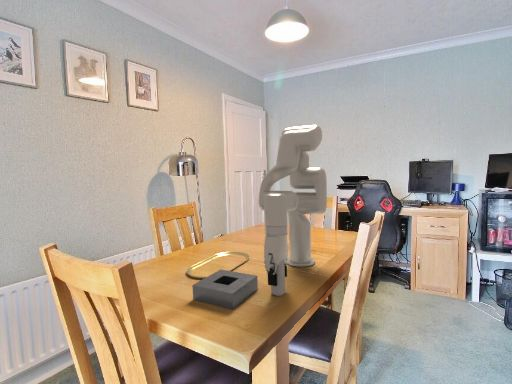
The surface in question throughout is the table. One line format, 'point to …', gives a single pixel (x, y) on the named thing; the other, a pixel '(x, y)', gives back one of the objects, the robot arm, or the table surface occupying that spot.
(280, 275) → the beverage can
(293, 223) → the robot arm
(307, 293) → the table surface
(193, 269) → the gold oval ring
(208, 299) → the socket block
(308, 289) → the table surface
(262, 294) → the table surface
